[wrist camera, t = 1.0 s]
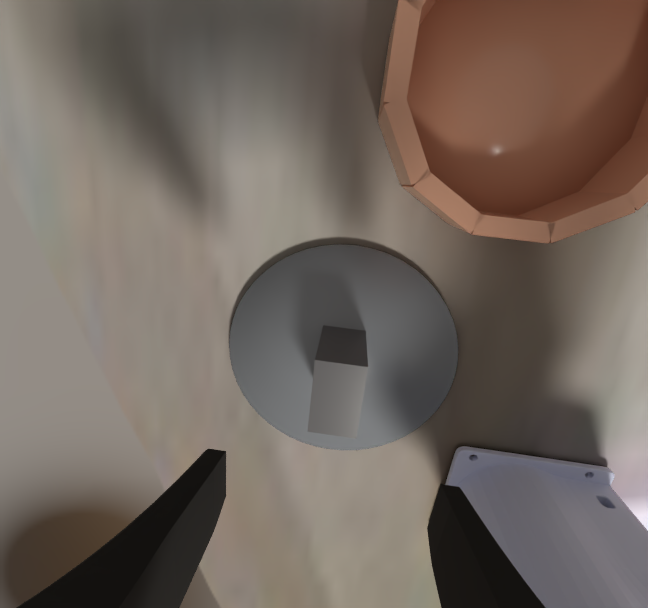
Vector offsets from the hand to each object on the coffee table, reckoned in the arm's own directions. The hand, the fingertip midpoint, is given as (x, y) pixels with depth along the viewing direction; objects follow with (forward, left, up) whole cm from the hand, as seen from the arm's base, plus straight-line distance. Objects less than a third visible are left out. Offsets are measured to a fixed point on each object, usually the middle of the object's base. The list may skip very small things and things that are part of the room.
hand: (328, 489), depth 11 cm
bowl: (-6, -14, -9) cm, 18 cm away
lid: (0, 0, -10) cm, 10 cm away
